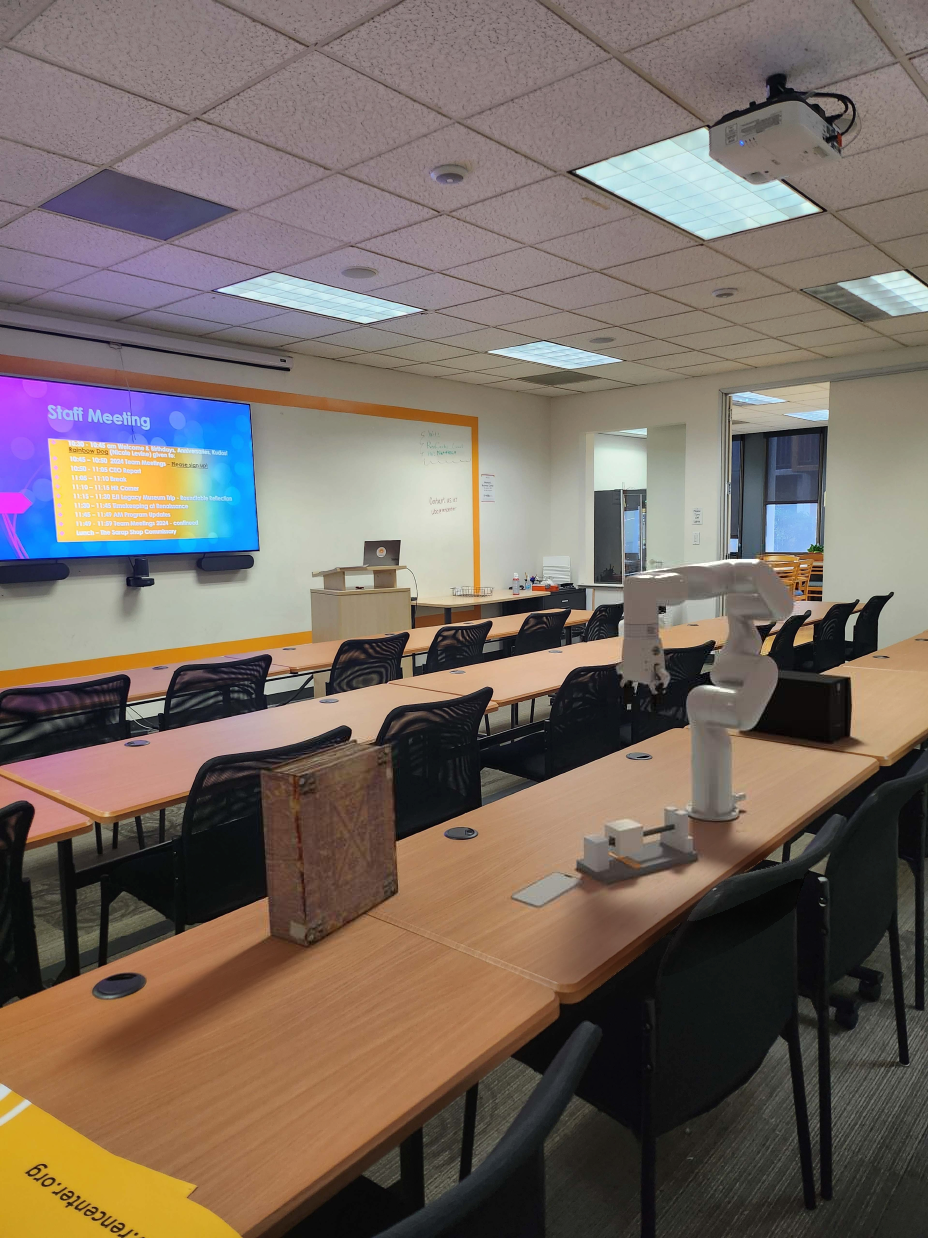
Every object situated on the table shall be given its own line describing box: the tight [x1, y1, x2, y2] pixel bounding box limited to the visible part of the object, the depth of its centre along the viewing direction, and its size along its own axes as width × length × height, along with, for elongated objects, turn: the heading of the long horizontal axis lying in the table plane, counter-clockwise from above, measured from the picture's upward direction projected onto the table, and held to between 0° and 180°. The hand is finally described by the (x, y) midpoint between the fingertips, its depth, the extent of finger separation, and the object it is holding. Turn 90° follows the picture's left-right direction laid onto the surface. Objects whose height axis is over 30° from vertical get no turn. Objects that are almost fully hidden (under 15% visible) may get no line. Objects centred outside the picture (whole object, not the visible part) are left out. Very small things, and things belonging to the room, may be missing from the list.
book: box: [259, 739, 399, 948], centre depth 149 cm, size 25×9×30 cm, turn 147°
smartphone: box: [510, 871, 584, 908], centre depth 157 cm, size 7×1×15 cm
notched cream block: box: [604, 818, 644, 858], centre depth 167 cm, size 6×5×6 cm
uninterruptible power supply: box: [747, 669, 853, 745], centre depth 275 cm, size 16×34×20 cm, turn 40°
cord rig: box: [576, 805, 699, 885], centre depth 168 cm, size 24×10×10 cm, turn 117°
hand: (642, 707), depth 179 cm, fingers open, 9 cm apart
